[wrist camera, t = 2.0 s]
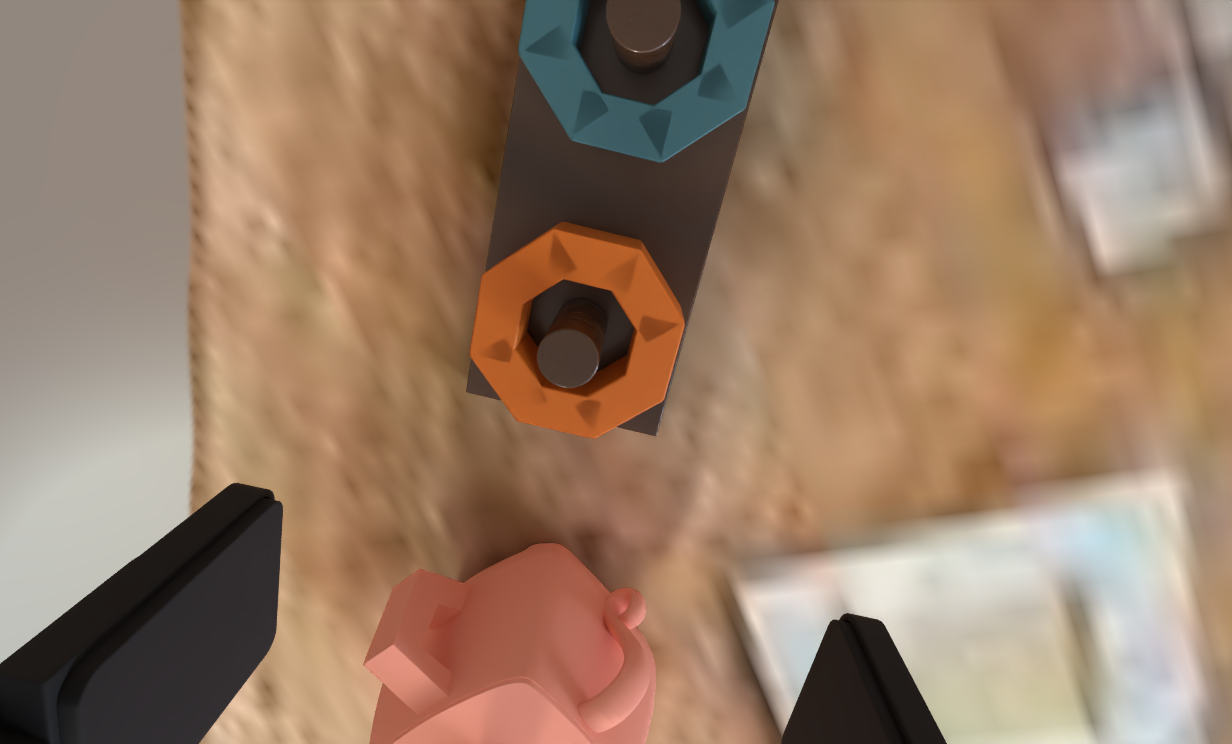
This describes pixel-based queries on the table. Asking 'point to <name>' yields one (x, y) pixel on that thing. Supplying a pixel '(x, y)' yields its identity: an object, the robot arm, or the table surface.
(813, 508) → the table surface
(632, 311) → the orange octagonal ring
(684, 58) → the stand
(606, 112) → the teal faceted ring
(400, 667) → the teapot
